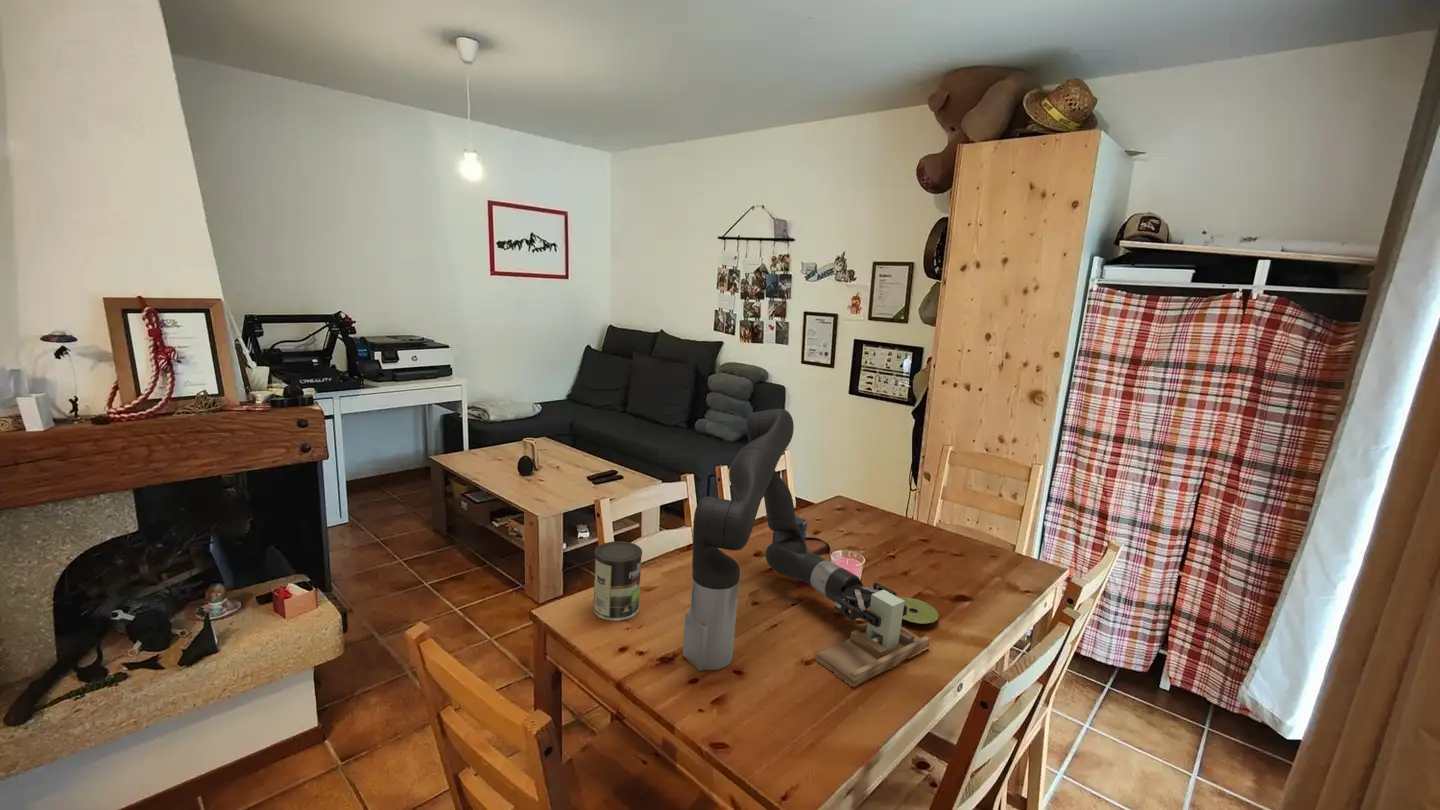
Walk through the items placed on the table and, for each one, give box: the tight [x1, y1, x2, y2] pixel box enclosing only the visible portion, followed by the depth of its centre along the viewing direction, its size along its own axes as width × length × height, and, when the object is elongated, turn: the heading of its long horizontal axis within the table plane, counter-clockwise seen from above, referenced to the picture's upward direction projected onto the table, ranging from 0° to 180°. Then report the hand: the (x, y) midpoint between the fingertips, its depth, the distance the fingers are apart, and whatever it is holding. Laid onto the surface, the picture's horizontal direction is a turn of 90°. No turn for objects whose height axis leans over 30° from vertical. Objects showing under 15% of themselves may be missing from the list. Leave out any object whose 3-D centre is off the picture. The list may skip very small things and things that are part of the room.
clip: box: [865, 590, 905, 652], centre depth 128 cm, size 4×5×10 cm
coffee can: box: [592, 540, 643, 622], centre depth 136 cm, size 10×10×14 cm
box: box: [771, 515, 809, 544], centre depth 169 cm, size 8×6×11 cm
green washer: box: [899, 597, 939, 625], centre depth 143 cm, size 11×11×2 cm
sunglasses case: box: [771, 530, 831, 556], centre depth 179 cm, size 18×7×7 cm
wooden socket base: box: [815, 626, 931, 686], centre depth 127 cm, size 24×10×4 cm, turn 127°
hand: (893, 617), depth 126 cm, fingers open, 8 cm apart
